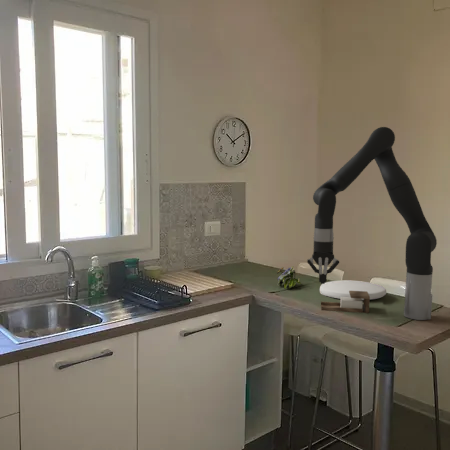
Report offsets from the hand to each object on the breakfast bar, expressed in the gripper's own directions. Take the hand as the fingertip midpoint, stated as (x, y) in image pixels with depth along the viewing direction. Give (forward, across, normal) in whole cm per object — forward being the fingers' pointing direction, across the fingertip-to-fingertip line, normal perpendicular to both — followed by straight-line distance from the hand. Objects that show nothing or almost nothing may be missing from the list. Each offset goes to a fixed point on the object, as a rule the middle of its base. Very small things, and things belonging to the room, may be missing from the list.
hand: (322, 283), depth 205 cm
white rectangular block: (+10, -11, -1) cm, 15 cm away
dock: (+11, -9, -1) cm, 14 cm away
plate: (+11, -14, -25) cm, 31 cm away
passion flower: (+10, +14, -36) cm, 40 cm away
